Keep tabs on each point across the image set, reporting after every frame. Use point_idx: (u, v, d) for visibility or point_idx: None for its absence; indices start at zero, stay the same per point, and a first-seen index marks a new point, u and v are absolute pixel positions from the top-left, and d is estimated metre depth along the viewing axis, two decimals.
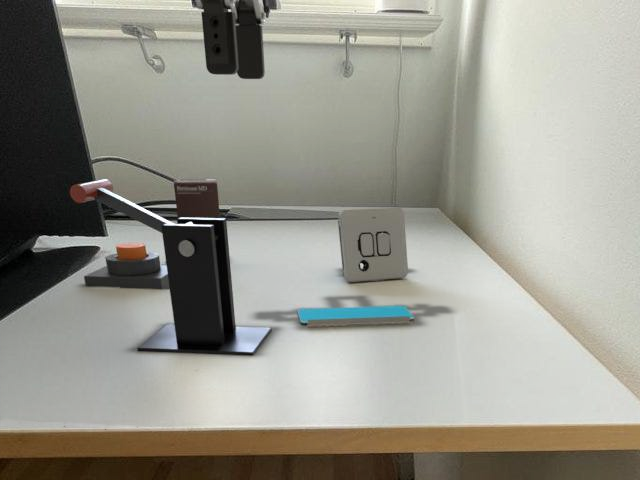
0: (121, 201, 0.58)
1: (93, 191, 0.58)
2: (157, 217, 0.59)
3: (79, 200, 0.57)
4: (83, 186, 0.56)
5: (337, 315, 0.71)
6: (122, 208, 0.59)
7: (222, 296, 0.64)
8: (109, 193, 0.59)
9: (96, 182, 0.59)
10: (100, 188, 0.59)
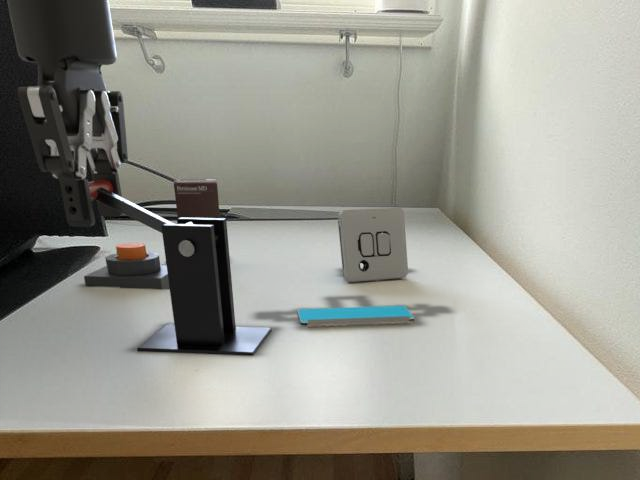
0: (121, 201, 0.58)
1: (93, 191, 0.58)
2: (157, 217, 0.59)
3: None
4: None
5: (337, 315, 0.71)
6: (122, 208, 0.59)
7: (222, 296, 0.64)
8: (109, 193, 0.59)
9: (96, 182, 0.59)
10: (100, 188, 0.59)
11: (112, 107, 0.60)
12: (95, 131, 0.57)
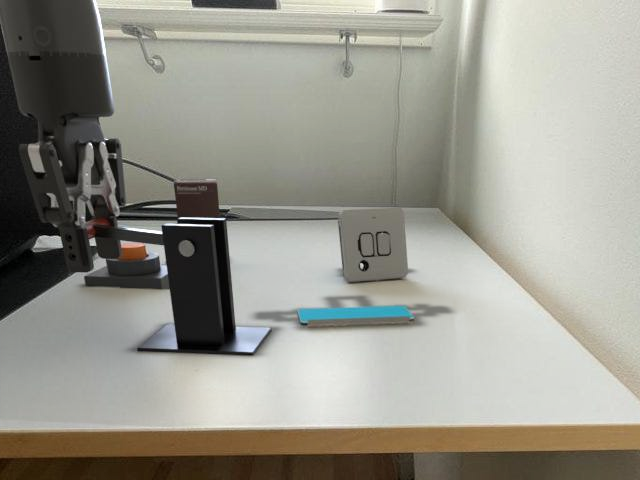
0: (117, 229, 0.60)
1: (89, 228, 0.59)
2: (153, 232, 0.60)
3: None
4: None
5: (337, 315, 0.71)
6: (120, 235, 0.60)
7: (222, 296, 0.64)
8: (105, 226, 0.60)
9: (91, 221, 0.60)
10: (96, 225, 0.60)
11: (110, 154, 0.62)
12: (94, 180, 0.59)
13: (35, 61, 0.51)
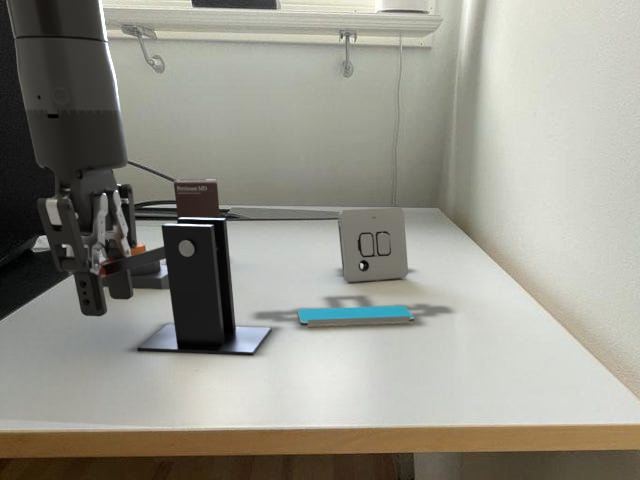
0: (123, 259, 0.61)
1: (99, 268, 0.61)
2: (155, 249, 0.61)
3: None
4: None
5: (337, 315, 0.71)
6: (127, 264, 0.61)
7: (222, 296, 0.64)
8: (112, 261, 0.62)
9: None
10: (104, 264, 0.62)
11: (123, 199, 0.64)
12: (107, 227, 0.60)
13: (53, 119, 0.53)
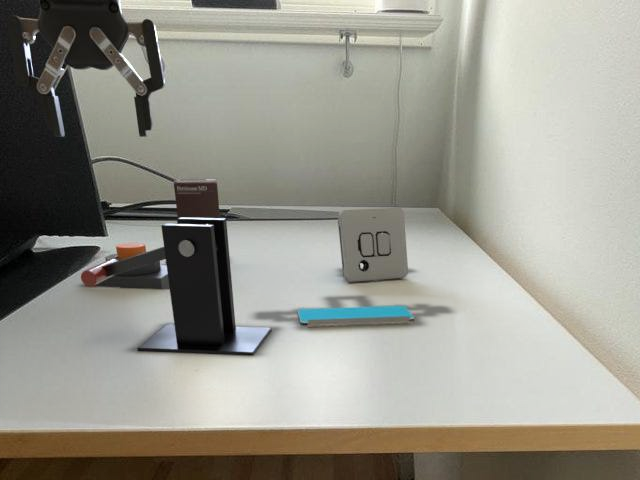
0: (123, 260, 0.61)
1: (99, 269, 0.61)
2: (156, 249, 0.61)
3: (93, 283, 0.60)
4: (88, 269, 0.60)
5: (337, 315, 0.71)
6: (128, 265, 0.61)
7: (222, 296, 0.64)
8: (112, 263, 0.62)
9: (100, 264, 0.62)
10: (105, 265, 0.62)
11: None
12: (92, 63, 0.66)
13: None
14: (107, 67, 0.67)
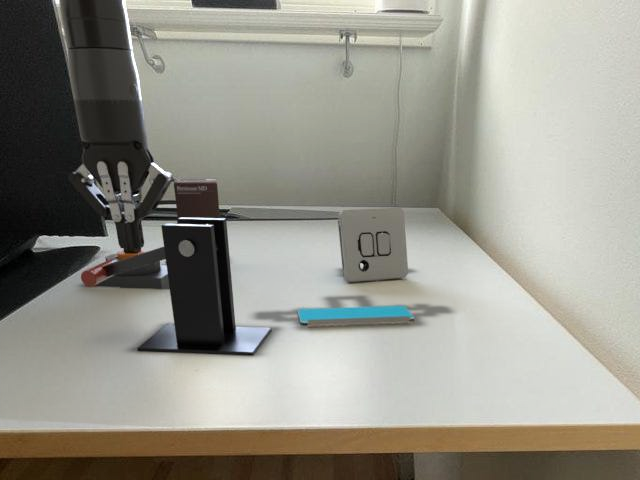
0: (123, 260, 0.61)
1: (99, 269, 0.61)
2: (156, 249, 0.61)
3: (93, 283, 0.60)
4: (88, 269, 0.60)
5: (337, 315, 0.71)
6: (128, 265, 0.61)
7: (222, 296, 0.64)
8: (112, 263, 0.62)
9: (100, 264, 0.62)
10: (105, 265, 0.62)
11: (151, 179, 0.80)
12: None
13: None
14: (133, 190, 0.81)
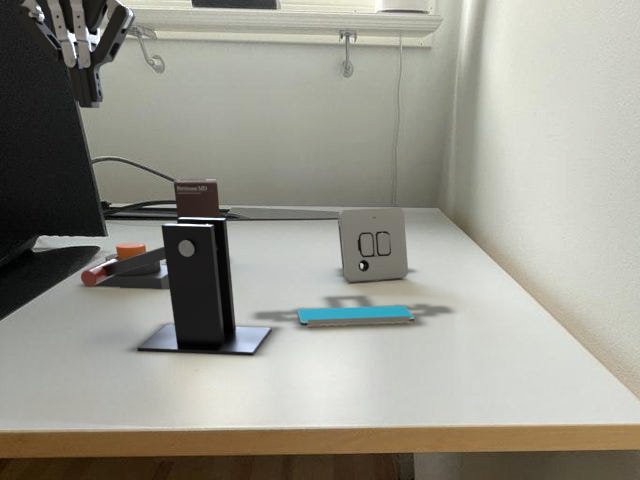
0: (123, 260, 0.61)
1: (99, 269, 0.61)
2: (156, 249, 0.61)
3: (93, 283, 0.60)
4: (88, 269, 0.60)
5: (337, 315, 0.71)
6: (128, 265, 0.61)
7: (222, 296, 0.64)
8: (112, 263, 0.62)
9: (100, 264, 0.62)
10: (105, 265, 0.62)
11: (109, 13, 0.69)
12: None
13: None
14: (89, 28, 0.70)
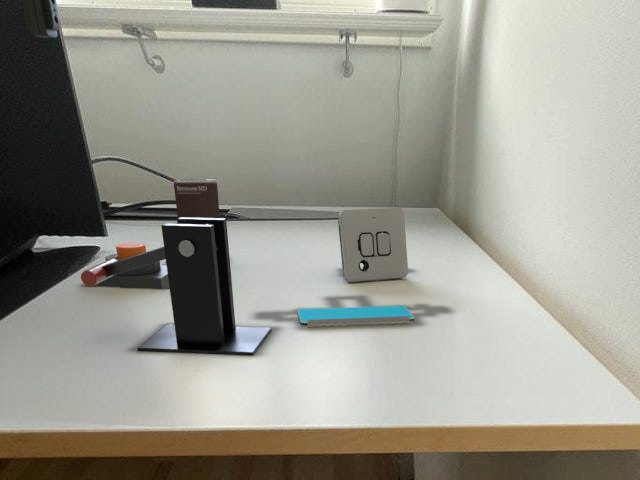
0: (123, 260, 0.61)
1: (99, 269, 0.61)
2: (156, 249, 0.61)
3: (93, 283, 0.60)
4: (88, 269, 0.60)
5: (337, 315, 0.71)
6: (128, 265, 0.61)
7: (222, 296, 0.64)
8: (112, 263, 0.62)
9: (100, 264, 0.62)
10: (105, 265, 0.62)
11: None
12: None
13: None
14: None
